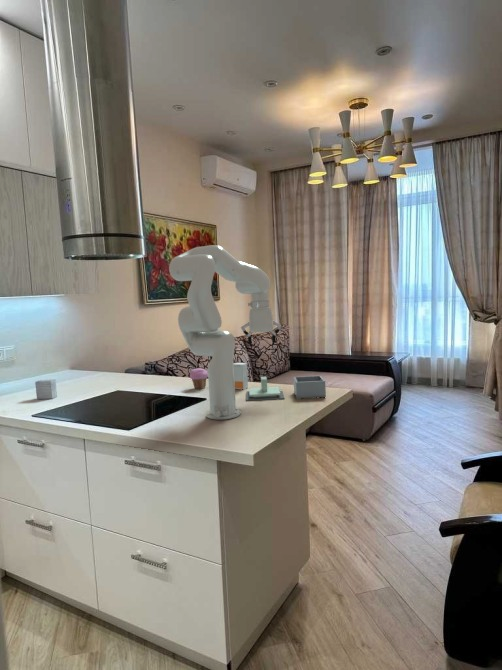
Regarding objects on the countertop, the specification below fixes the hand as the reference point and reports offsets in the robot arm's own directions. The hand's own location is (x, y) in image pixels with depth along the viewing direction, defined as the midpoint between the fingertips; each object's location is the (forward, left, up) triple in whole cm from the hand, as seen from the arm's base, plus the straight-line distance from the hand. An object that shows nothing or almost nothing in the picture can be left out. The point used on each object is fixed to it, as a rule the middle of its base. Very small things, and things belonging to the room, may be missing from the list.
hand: (262, 345), depth 189 cm
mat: (0, 0, -22) cm, 22 cm away
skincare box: (+17, +11, -22) cm, 30 cm away
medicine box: (+17, +103, -22) cm, 107 cm away
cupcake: (+22, +31, -22) cm, 44 cm away
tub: (-3, -19, -22) cm, 29 cm away
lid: (0, 0, -21) cm, 21 cm away
